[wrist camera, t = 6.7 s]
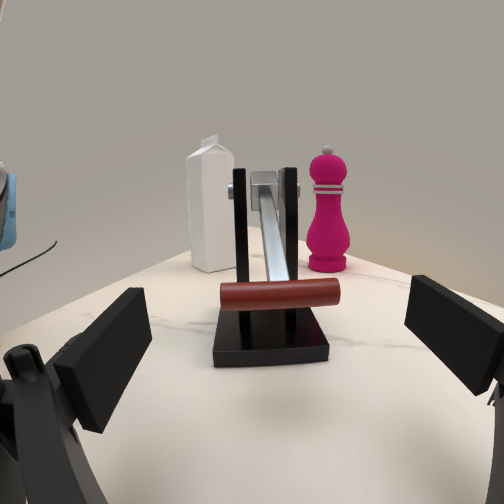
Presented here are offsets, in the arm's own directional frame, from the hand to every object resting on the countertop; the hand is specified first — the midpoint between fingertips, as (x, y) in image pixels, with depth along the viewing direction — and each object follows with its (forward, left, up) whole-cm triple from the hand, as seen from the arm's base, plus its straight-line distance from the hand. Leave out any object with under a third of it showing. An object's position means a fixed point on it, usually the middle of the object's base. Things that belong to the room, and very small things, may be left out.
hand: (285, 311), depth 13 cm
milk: (-35, +11, -8) cm, 38 cm away
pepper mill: (-23, +26, -8) cm, 36 cm away
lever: (-7, +4, +2) cm, 8 cm away
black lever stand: (-11, +6, -8) cm, 15 cm away
